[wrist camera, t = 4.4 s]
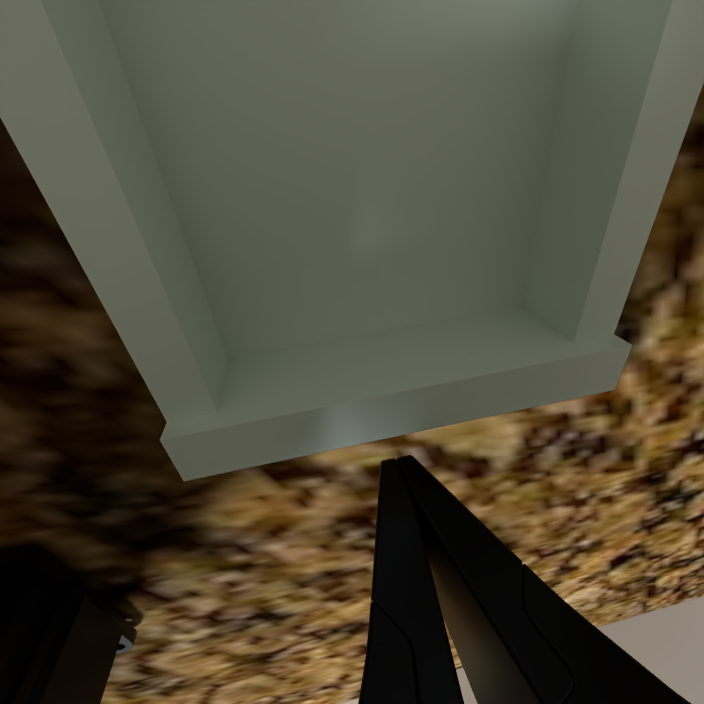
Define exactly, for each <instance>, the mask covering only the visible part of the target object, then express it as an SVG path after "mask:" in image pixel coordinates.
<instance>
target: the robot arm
mask: <svg viewBox="0 0 704 704" xmlns="http://www.w3.org/2000/svg"><path fill="white" fill-rule="evenodd" d="M371 602H372V603H371V605H370V619H369V631H368V641H367V651H366V659H365V665H364V672H363V678H362V685H361V691H360V697H359V702H358V704H464V701H463V697H462V693H461V689H460V685H459V681H458V677H457V673H456V668H455V664H454V660H453V656H452V652H451V648H450V644H449V640H448V636H447V632H446V628H445V624H444V620H445V623H446V625H447V628H448V630H449V633H450V635H451V638H452V640H453V643H454V645H455V648H456V650H457V653H458V656H459V658H460V661H461V663H462V666H463V668H464V671H465V673H466V676H467V678H468V680H469V683H470V685H471V688H472V691H473V693H474V695H475V698H476V701H477V703H478V704H691V703H690V702H688V701H687V700H685V699H684V698H683V697H681V696H680V695H678V694H677V693H676V692H675V691H673V690H672V689H671V688H669V687H668V686H667V685H666V684H664V683H663V682H662V681H661V680H660V679H658V678H657V677H656V676H655V675H654V674H652V673H651V672H650V671H649V670H647V669H646V668H645V667H644V666H642V665H641V664H640V663H639V662H638V661H636V660H635V659H634V658H633V657H632V656H630V655H629V654H628V653H627V652H625V651H624V650H623V649H622V648H621V647H619V646H618V645H617V644H615V643H614V642H613V641H612V640H611V639H609V638H608V637H607V636H606V635H604V634H603V633H602V632H601V631H600V630H598V629H597V628H596V627H595V626H594V625H592V624H591V623H590V622H589V621H588V620H586V619H585V618H584V617H583V616H582V615H581V614H579V613H578V612H577V611H576V610H575V609H573V608H572V607H571V606H570V605H569V604H568V603H566V602H565V601H564V600H563V599H562V598H561V597H560V596H559V595H557V594H556V593H555V592H554V591H553V590H552V589H551V588H550V587H549V586H548V585H547V584H546V583H544V582H543V581H542V580H541V579H540V578H539V577H538V576H537V575H536V574H535V573H534V572H533V571H532V570H531V569H530V568H529V567H528V566H527V565H526V564H523V565H522V561H521V560H520V559H519V558H518V557H517V556H516V555H515V554H514V553H513V552H512V551H511V550H510V549H509V548H508V547H507V546H506V545H505V544H504V543H503V542H502V541H501V540H500V539H498V538H497V537H496V536H495V535H494V534H493V533H492V532H491V531H490V530H489V529H488V528H487V527H486V526H485V525H484V524H483V523H482V522H481V521H480V520H479V519H478V518H477V517H476V516H475V515H474V514H473V513H472V512H470V511H469V510H468V509H467V508H466V507H465V506H464V505H463V504H462V503H461V502H460V501H459V500H458V499H457V498H456V497H455V496H454V495H453V494H452V493H451V492H450V491H449V490H448V489H447V488H446V487H445V486H443V485H442V484H441V483H440V482H439V481H438V480H437V479H436V478H435V477H434V476H433V475H432V474H431V473H430V472H429V471H428V470H427V469H426V468H425V467H424V466H423V465H422V464H421V463H420V462H419V461H418V460H416V459H415V458H414V457H413V456H411V455H407V456H402V457H398V458H397V460H396V459H394V458H393V459H388V460H383V461H381V465H380V478H379V493H378V507H377V521H376V536H375V550H374V564H373V579H372V593H371ZM442 615H443V616H442ZM443 618H444V620H443ZM136 635H137V631H136V629H134V628H133V627H132V626H131V625H130V624H129V623H128V622H127V621H126V620H124V619H123V618H122V617H121V616H120V615H119V614H118V613H117V612H115V611H114V610H113V609H112V608H111V607H110V606H109V605H108V604H107V603H105V602H104V601H103V600H102V599H101V598H100V597H99V596H98V595H96V594H95V593H94V592H93V591H92V590H91V589H90V588H89V587H88V586H86V585H85V584H84V583H83V582H82V581H81V580H80V579H79V578H77V577H76V576H75V575H74V574H73V573H72V572H71V571H70V570H69V569H67V568H66V567H65V566H64V565H63V564H62V563H61V562H60V561H58V560H57V559H56V558H55V557H54V556H53V555H52V554H51V553H50V552H48V551H47V550H45V549H43V548H41V547H37V546H31V545H22V546H15V547H11V548H6V549H2V550H0V704H100V702H101V699H102V696H103V693H104V690H105V686H106V683H107V680H108V677H109V674H110V671H111V668H112V664H113V661H114V658H115V655H116V654H119V653H123V652H126V651H129V650H130V649H132V648H133V646H134V642H135V639H136Z"/></svg>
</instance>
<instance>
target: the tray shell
mask: <svg viewBox="0 0 704 704" xmlns="http://www.w3.org/2000/svg"><path fill="white" fill-rule="evenodd" d="M703 83H704V0H0V118H1V120H2V121H3V123H4V125H5V127H6V129H7V131H8V132H9V134H10V136H11V138H12V140H13V142H14V143H15V145H16V147H17V149H18V151H19V153H20V154H21V156H22V158H23V160H24V162H25V163H26V165H27V167H28V169H29V171H30V173H31V174H32V176H33V178H34V180H35V182H36V184H37V185H38V187H39V189H40V191H41V193H42V195H43V196H44V198H45V200H46V202H47V204H48V206H49V207H50V209H51V211H52V213H53V215H54V217H55V218H56V220H57V222H58V224H59V226H60V228H61V229H62V231H63V233H64V235H65V237H66V239H67V240H68V242H69V244H70V246H71V248H72V250H73V251H74V253H75V255H76V257H77V259H78V260H79V262H80V264H81V266H82V268H83V270H84V271H85V273H86V275H87V277H88V279H89V281H90V282H91V284H92V286H93V288H94V290H95V292H96V293H97V295H98V297H99V299H100V301H101V303H102V304H103V306H104V308H105V310H106V312H107V314H108V315H109V317H110V319H111V321H112V323H113V325H114V326H115V328H116V330H117V332H118V334H119V336H120V337H121V339H122V341H123V343H124V345H125V347H126V348H127V350H128V352H129V354H130V356H131V357H132V359H133V361H134V363H135V365H136V367H137V368H138V370H139V372H140V374H141V376H142V378H143V379H144V381H145V383H146V385H147V387H148V389H149V390H150V392H151V394H152V396H153V398H154V400H155V401H156V403H157V405H158V407H159V409H160V411H161V412H162V414H163V416H164V418H165V420H166V422H167V423H166V425H165V428H164V430H163V433H162V435H161V438H160V442H161V443H162V445H163V447H164V449H165V450H166V452H167V454H168V455H169V457H170V459H171V460H172V462H173V464H174V466H175V467H176V469H177V471H178V472H179V474H180V476H181V478H182V479H183V481H189V480H193V479H198V478H203V477H207V476H212V475H217V474H221V473H226V472H231V471H235V470H240V469H245V468H250V467H254V466H259V465H264V464H268V463H273V462H278V461H282V460H287V459H292V458H296V457H301V456H306V455H311V454H315V453H320V452H325V451H329V450H334V449H339V448H343V447H348V446H353V445H357V444H362V443H367V442H372V441H376V440H381V439H386V438H390V437H395V436H400V435H404V434H409V433H414V432H418V431H423V430H428V429H433V428H437V427H442V426H447V425H451V424H456V423H461V422H465V421H470V420H475V419H479V418H484V417H489V416H494V415H498V414H503V413H508V412H512V411H517V410H522V409H526V408H531V407H536V406H540V405H545V404H550V403H555V402H559V401H564V400H569V399H573V398H578V397H583V396H587V395H592V394H597V393H602V392H606V391H611V390H615V388H616V385H617V383H618V380H619V378H620V375H621V373H622V370H623V368H624V365H625V363H626V360H627V358H628V355H629V353H630V350H631V348H632V345H631V344H629V343H628V342H626V341H624V340H623V339H621V338H619V337H617V336H616V335H614V332H615V329H616V327H617V324H618V321H619V318H620V315H621V313H622V310H623V307H624V304H625V301H626V299H627V296H628V293H629V290H630V287H631V285H632V282H633V279H634V276H635V273H636V271H637V268H638V265H639V262H640V259H641V257H642V254H643V251H644V248H645V245H646V243H647V240H648V237H649V234H650V231H651V229H652V226H653V223H654V220H655V217H656V215H657V212H658V209H659V206H660V203H661V201H662V198H663V195H664V192H665V189H666V187H667V184H668V181H669V178H670V175H671V173H672V170H673V167H674V164H675V161H676V159H677V156H678V153H679V150H680V147H681V145H682V142H683V139H684V136H685V133H686V131H687V128H688V125H689V122H690V119H691V117H692V114H693V111H694V108H695V105H696V103H697V100H698V97H699V94H700V91H701V89H702V86H703Z"/></svg>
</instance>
